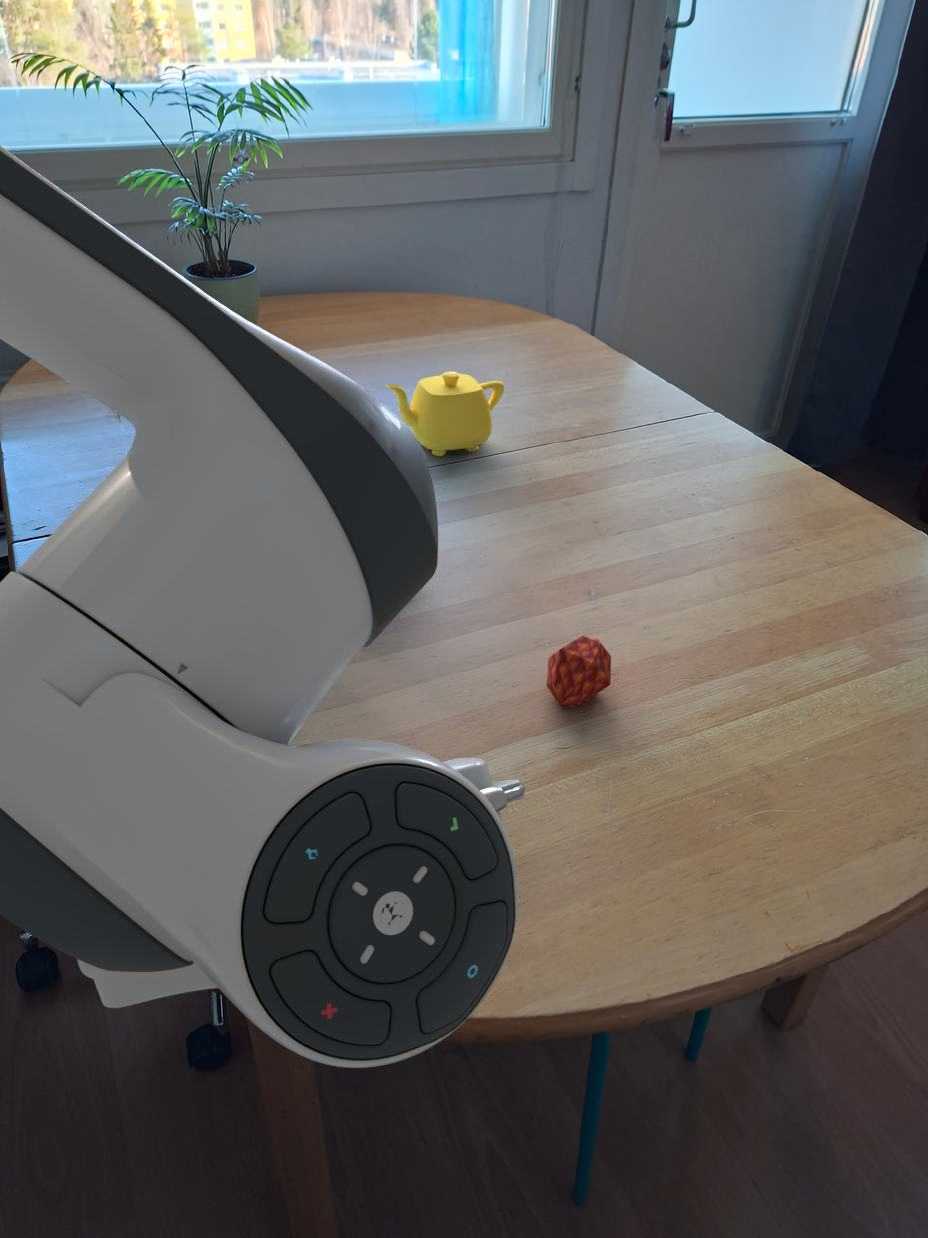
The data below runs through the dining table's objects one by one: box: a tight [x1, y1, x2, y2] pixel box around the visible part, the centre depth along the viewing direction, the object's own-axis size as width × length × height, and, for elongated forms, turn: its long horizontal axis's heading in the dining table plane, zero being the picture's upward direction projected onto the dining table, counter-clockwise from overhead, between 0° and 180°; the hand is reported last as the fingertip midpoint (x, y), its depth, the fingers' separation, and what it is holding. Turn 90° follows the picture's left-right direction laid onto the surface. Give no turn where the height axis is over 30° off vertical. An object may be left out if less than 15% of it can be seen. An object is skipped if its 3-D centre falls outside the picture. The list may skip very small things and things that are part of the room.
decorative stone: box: [546, 635, 612, 708], centre depth 84 cm, size 6×7×8 cm
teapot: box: [385, 371, 505, 457], centre depth 128 cm, size 18×11×11 cm, turn 110°
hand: (278, 838), depth 48 cm, fingers open, 8 cm apart
